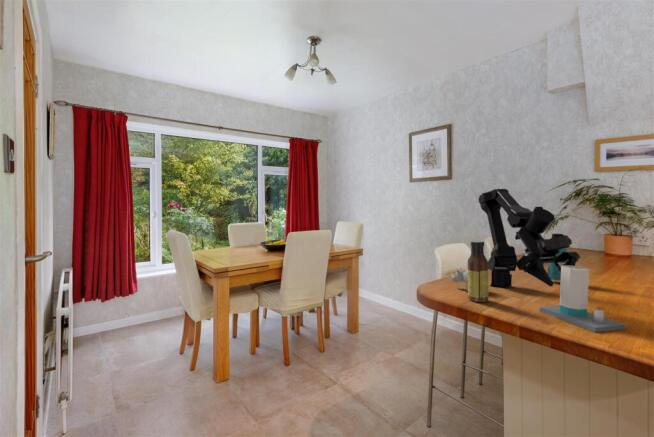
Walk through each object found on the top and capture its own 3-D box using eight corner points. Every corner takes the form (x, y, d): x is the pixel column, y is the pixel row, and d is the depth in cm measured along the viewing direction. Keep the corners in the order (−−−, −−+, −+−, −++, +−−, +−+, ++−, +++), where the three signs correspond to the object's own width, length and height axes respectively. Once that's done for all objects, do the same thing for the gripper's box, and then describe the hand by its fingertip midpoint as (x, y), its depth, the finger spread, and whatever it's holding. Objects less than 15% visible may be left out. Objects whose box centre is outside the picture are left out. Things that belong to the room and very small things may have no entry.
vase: (560, 313, 89) (562, 268, 89) (559, 307, 94) (560, 264, 94) (587, 318, 86) (589, 270, 85) (584, 311, 91) (586, 266, 90)
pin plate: (539, 310, 95) (540, 297, 95) (566, 308, 97) (567, 295, 97) (594, 332, 79) (595, 316, 79) (625, 329, 82) (626, 313, 81)
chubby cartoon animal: (454, 285, 125) (455, 263, 124) (487, 290, 117) (488, 267, 116) (447, 288, 120) (448, 266, 119) (481, 294, 112) (482, 271, 111)
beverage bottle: (570, 284, 125) (572, 234, 124) (553, 284, 125) (555, 234, 124) (558, 280, 132) (560, 232, 130) (542, 280, 132) (544, 232, 131)
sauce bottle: (486, 298, 107) (488, 240, 106) (489, 304, 101) (491, 242, 100) (465, 296, 109) (467, 239, 108) (467, 302, 104) (469, 241, 102)
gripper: (525, 226, 95) (557, 271, 84) (575, 225, 99) (612, 268, 88) (504, 248, 103) (531, 292, 93) (551, 246, 107) (582, 288, 97)
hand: (565, 284), depth 92 cm, fingers open, 9 cm apart
